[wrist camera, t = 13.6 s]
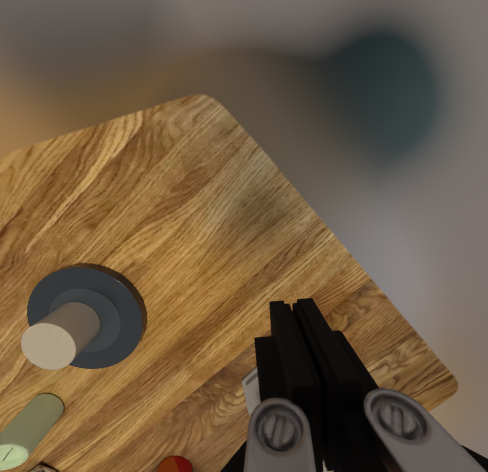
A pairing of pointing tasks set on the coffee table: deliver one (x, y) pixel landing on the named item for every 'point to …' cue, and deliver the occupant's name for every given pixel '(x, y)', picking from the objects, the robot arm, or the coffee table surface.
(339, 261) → the coffee table surface
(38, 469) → the basket
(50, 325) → the short beige cylinder
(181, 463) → the coffee cup
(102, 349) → the plate
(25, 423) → the candle
